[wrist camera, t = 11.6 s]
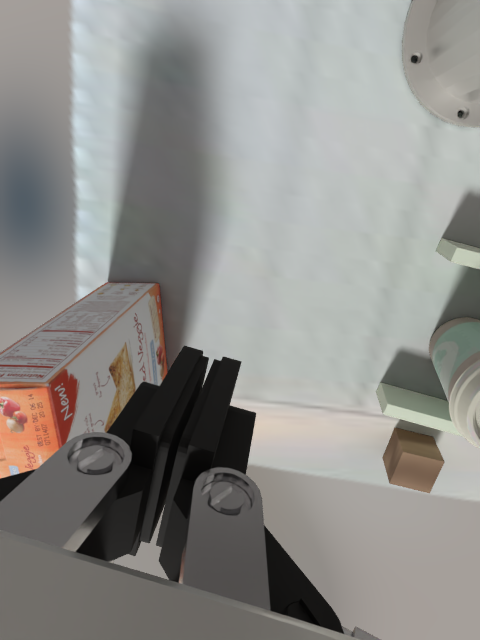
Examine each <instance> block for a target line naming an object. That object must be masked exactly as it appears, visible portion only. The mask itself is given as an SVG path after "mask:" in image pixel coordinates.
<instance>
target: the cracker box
mask: <svg viewBox="0 0 480 640" xmlns="http://www.w3.org/2000/svg"><path fill="white" fill-rule="evenodd" d="M166 375H167V362H166V351H165V340H164V330H163V319H162V308H161V297H160V286H159V284H158V283H108V282H107V283H105V284H104V285H102V286H100V287H99V288H97V289H96V290H94V291H93V292H91V293H90V294H88V295H87V296H85V297H84V298H82V299H80V300H79V301H77V302H76V303H74V304H73V305H71V306H70V307H68V308H67V309H65V310H64V311H62V312H61V313H59V314H58V315H56V316H55V317H53V318H52V319H50V320H49V321H47V322H45V323H44V324H42V325H41V326H39V327H38V328H36V329H35V330H34V331H32V332H30V333H29V334H27V335H26V336H24V337H23V338H21V339H20V340H18V341H17V342H15V343H14V344H12V345H11V346H9V347H8V348H6V349H5V350H3V351H2V352H0V478H4V477H8V476H11V475H15V474H19V473H23V472H26V471H30V470H34V469H37V468H38V467H40V466H41V465H42V464H43V463H44V462H45V461H46V460H47V459H49V458H50V457H51V456H52V455H53V454H54V453H55V452H56V451H57V450H59V449H60V448H61V447H62V446H63V445H64V444H65V443H66V442H68V441H69V440H71V439H72V438H74V437H76V436H79V435H81V434H84V433H91V432H102V433H107V431H108V430H109V428H110V427H111V425H112V424H113V423H114V421H115V420H116V418H117V417H118V415H119V414H120V412H121V411H122V410H123V408H124V407H125V405H126V404H127V402H128V401H129V400H130V398H131V397H132V395H133V394H134V392H135V391H136V390H137V388H138V387H139V385H140V384H141V383H142V382H148V383H151V384H155V385H158V386H160V384H161V383H162V381H163V379H164V378H165V376H166Z"/></svg>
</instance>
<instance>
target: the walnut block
mask: <svg viewBox="0 0 480 640" xmlns="http://www.w3.org/2000/svg"><path fill="white" fill-rule="evenodd" d="M383 461H384V465H385V468H386V472H387V476H388V479H389V483H390V484H394V485H398V486H402V487H406V488H410V489H414V490H418V491H422V492H427V493H430V491H431V489H432V487H433V485H434V483H435V481H436V479H437V476H438V474H439V472H440V470H441V468H442V466H443V464H444V460H443V458H442V455H441V453H440V451H439V449H438V447H437V445H436V443H435V440H434V438H433V437H432V436H428V435H424V434H419V433H415V432H411V431H407V430H403V429H399V428H394V431H393V433H392V436H391V438H390V440H389V443H388V445H387V448H386V450H385V453H384V455H383Z"/></svg>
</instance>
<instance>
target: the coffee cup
mask: <svg viewBox="0 0 480 640" xmlns="http://www.w3.org/2000/svg"><path fill="white" fill-rule="evenodd" d="M429 353H430V357H431V360H432V362H433V365H434V367H435V370H436V372H437V375H438V377H439V380H440V382H441V385H442V387H443V390H444V392H445V395H446V397H447V400H448V402H449V413H450V417H451V420H452V422H453V424H454V426H455V428H456V429H457V431H458V432H459V433H460V434H461V435H462V436H463V437H464V438H465V439H466V440H467V441H468V442H470V443H471V444H472V445H474V446H476V447H477V448H479V449H480V320H478V319H474V318H469V317H462V318H456V319H453V320H450V321H448V322H446V323H444V324H443V325H442V326H440V327H439V328H438V329H437V330H436V331H435V333H434V334H433V336H432V338H431V340H430V344H429Z"/></svg>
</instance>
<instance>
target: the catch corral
mask: <svg viewBox="0 0 480 640" xmlns="http://www.w3.org/2000/svg"><path fill="white" fill-rule="evenodd" d="M436 252H438V253H439V254H440V255H442V256H443V257H445V258H446V259H447V260H449V261H450V262H453V263H457V264H461V265H465V266H468V267H472V268H476V269H480V248H477V247H474V246H470V245H466V244H462V243H458V242H455V241H451V240H447V239H443V238H441V240H440V243H439V245H438V248H437V250H436ZM376 393H377V397H378V400H379V403H380V406H381V409H382V413H383V415H387V416H391V417H394V418H398V419H401V420H405V421H409V422H412V423H416V424H419V425H423V426H427V427H430V428H434V429H437V430H441V431H444V432H448V433H452V434H455V435H459V436H462V435H461V434H460V433H459V432H458V431H457V429H456V428H455V426H454V424H453V422H452V420H451V417H450V413H449V402H448V401H446V400H442V399H439V398H435V397H432V396H428V395H424V394H421V393H417V392H413V391H410V390H406V389H403V388H399V387H395V386H392V385H388V384H384V383H381V382H380V384H379V387H378V389H377V391H376ZM462 437H463V436H462Z"/></svg>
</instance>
